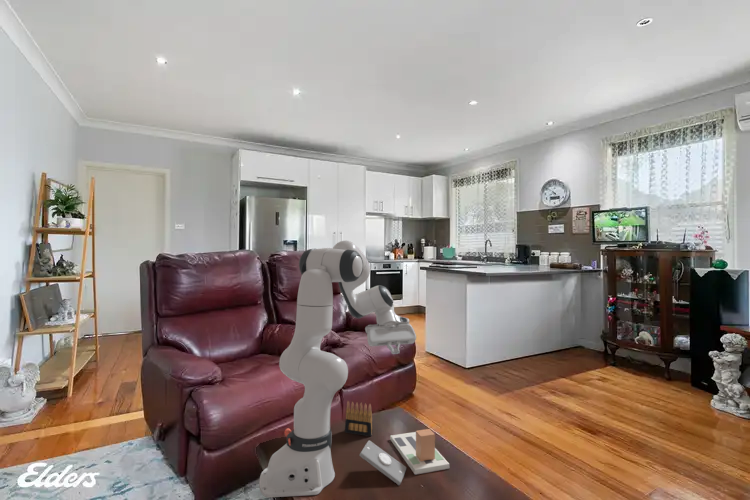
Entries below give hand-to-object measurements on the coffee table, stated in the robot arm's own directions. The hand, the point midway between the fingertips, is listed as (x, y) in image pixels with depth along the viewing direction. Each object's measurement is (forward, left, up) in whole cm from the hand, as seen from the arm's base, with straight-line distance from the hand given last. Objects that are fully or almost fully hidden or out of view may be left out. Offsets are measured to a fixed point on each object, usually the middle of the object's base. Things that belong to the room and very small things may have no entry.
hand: (395, 353), depth 150 cm
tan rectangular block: (+1, -26, -28) cm, 38 cm away
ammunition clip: (-15, 0, -30) cm, 33 cm away
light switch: (-14, -28, -30) cm, 43 cm away
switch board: (+1, -20, -29) cm, 35 cm away
